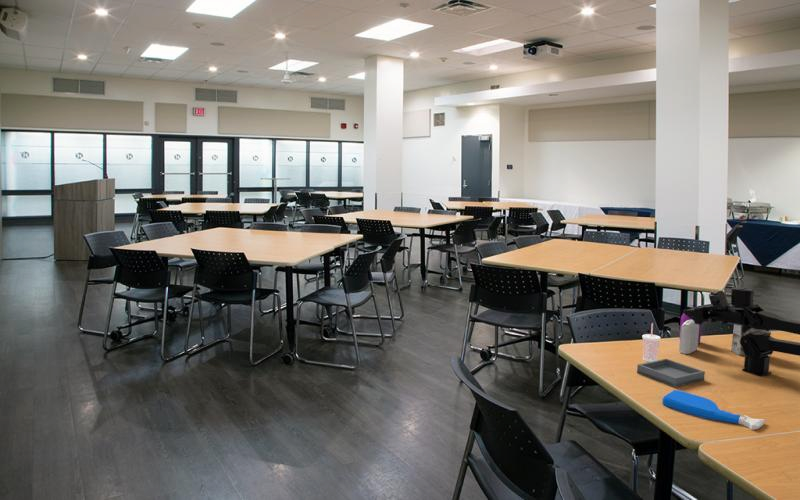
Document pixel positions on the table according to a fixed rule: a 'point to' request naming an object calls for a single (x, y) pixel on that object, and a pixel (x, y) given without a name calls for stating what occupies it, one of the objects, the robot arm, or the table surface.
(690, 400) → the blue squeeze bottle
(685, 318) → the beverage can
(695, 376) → the tray
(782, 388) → the table surface
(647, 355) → the beverage cup
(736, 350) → the coffee box
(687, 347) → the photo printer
